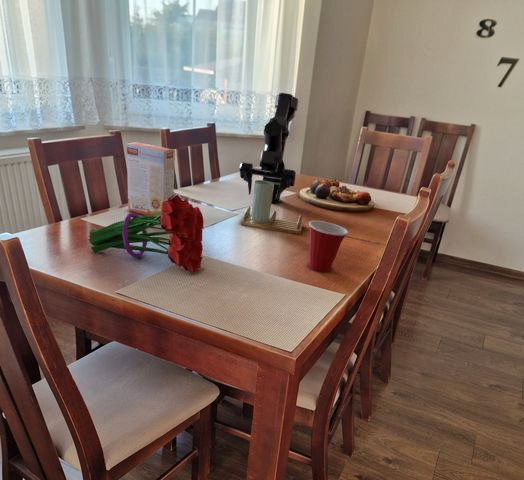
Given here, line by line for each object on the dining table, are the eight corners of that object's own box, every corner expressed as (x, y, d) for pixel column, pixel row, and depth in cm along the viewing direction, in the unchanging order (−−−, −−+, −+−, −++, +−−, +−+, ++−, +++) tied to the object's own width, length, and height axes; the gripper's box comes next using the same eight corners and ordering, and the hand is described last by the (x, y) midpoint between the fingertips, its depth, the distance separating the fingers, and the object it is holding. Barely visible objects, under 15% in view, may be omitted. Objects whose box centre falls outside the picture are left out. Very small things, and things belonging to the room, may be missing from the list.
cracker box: (174, 217, 157) (175, 149, 146) (163, 220, 152) (164, 151, 142) (138, 207, 161) (138, 141, 151) (127, 210, 156) (126, 142, 146)
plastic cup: (346, 275, 131) (355, 233, 125) (309, 275, 128) (318, 231, 122) (330, 260, 140) (338, 220, 134) (296, 260, 136) (303, 218, 130)
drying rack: (246, 216, 168) (247, 205, 166) (302, 226, 167) (304, 214, 164) (241, 224, 159) (242, 212, 157) (300, 234, 158) (302, 222, 156)
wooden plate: (389, 211, 201) (394, 191, 197) (333, 215, 184) (337, 193, 180) (338, 190, 223) (342, 172, 219) (284, 192, 206) (287, 173, 201)
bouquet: (111, 262, 135) (213, 260, 128) (80, 283, 120) (193, 282, 114) (93, 190, 125) (201, 183, 119) (57, 204, 111) (178, 197, 105)
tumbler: (252, 216, 166) (257, 179, 159) (270, 219, 165) (275, 182, 159) (249, 221, 160) (253, 182, 154) (267, 224, 160) (272, 185, 153)
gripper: (243, 135, 156) (233, 177, 152) (300, 144, 155) (291, 186, 151) (245, 157, 167) (236, 196, 163) (298, 165, 165) (290, 205, 162)
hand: (263, 196), depth 159 cm, fingers open, 9 cm apart
